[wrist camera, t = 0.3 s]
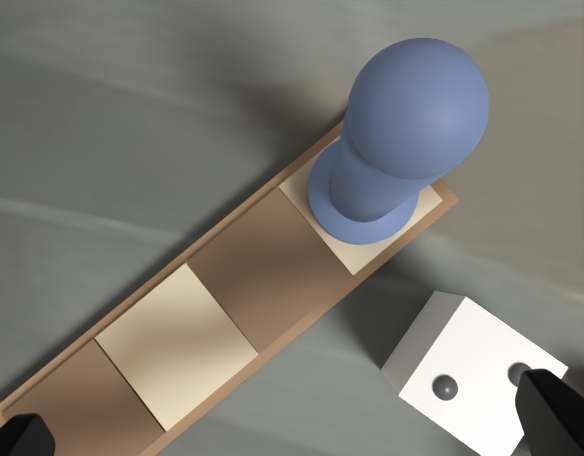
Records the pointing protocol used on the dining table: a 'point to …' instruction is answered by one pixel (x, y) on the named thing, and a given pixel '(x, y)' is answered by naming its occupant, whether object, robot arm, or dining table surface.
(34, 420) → the robot arm
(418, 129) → the pawn
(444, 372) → the white block
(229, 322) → the board
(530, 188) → the dining table surface
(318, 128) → the dining table surface
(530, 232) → the dining table surface
